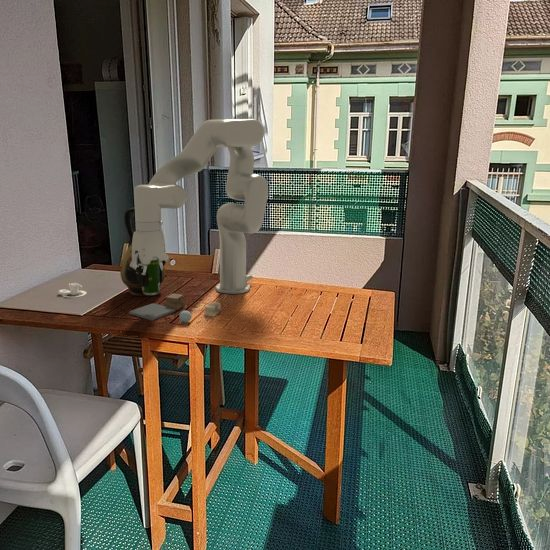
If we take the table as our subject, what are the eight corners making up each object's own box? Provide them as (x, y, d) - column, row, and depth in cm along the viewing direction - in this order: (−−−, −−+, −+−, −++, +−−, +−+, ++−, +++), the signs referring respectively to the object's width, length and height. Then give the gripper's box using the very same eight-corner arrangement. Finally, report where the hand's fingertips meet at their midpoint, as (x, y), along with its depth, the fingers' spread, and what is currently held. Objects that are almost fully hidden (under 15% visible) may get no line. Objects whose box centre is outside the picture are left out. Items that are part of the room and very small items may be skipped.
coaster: (153, 305, 161) (153, 303, 161) (175, 311, 156) (175, 309, 156) (129, 313, 153) (129, 311, 153) (151, 320, 148) (151, 318, 148)
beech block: (211, 310, 158) (211, 301, 157) (220, 311, 157) (220, 302, 157) (205, 315, 154) (205, 306, 153) (213, 316, 153) (213, 307, 152)
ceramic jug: (173, 288, 180) (170, 207, 172) (152, 300, 166) (148, 212, 158) (132, 283, 184) (128, 204, 176) (108, 295, 170) (102, 209, 162)
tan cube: (172, 304, 162) (172, 293, 161) (183, 306, 161) (183, 294, 160) (166, 308, 159) (166, 296, 158) (177, 310, 158) (177, 298, 157)
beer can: (159, 289, 156) (158, 253, 153) (160, 294, 151) (159, 257, 148) (142, 290, 154) (140, 253, 151) (142, 295, 149) (140, 257, 146)
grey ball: (185, 319, 150) (184, 308, 149) (194, 321, 148) (193, 310, 147) (176, 322, 147) (176, 311, 146) (185, 325, 145) (185, 313, 144)
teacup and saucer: (55, 296, 169) (54, 285, 168) (71, 290, 176) (70, 279, 175) (76, 300, 166) (74, 288, 165) (91, 293, 173) (90, 282, 172)
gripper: (160, 221, 156) (162, 276, 161) (117, 228, 142) (120, 288, 147) (177, 224, 152) (179, 280, 157) (135, 231, 138) (137, 292, 143)
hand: (150, 283), depth 152 cm, fingers closed on beer can, 5 cm apart
